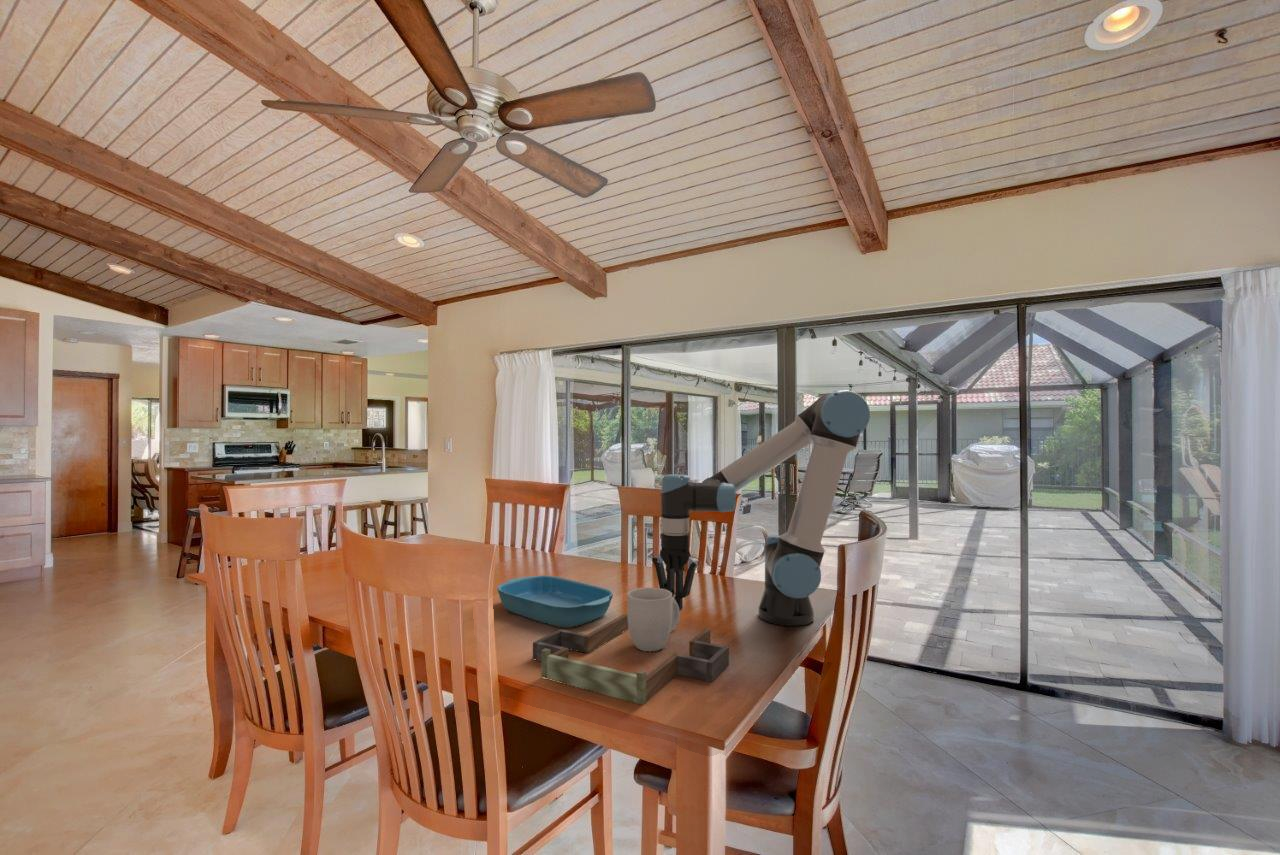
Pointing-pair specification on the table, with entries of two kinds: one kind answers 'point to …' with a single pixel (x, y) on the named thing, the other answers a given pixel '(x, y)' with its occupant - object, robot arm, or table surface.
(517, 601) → the casserole dish
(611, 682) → the channel
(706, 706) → the table surface
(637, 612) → the mug
